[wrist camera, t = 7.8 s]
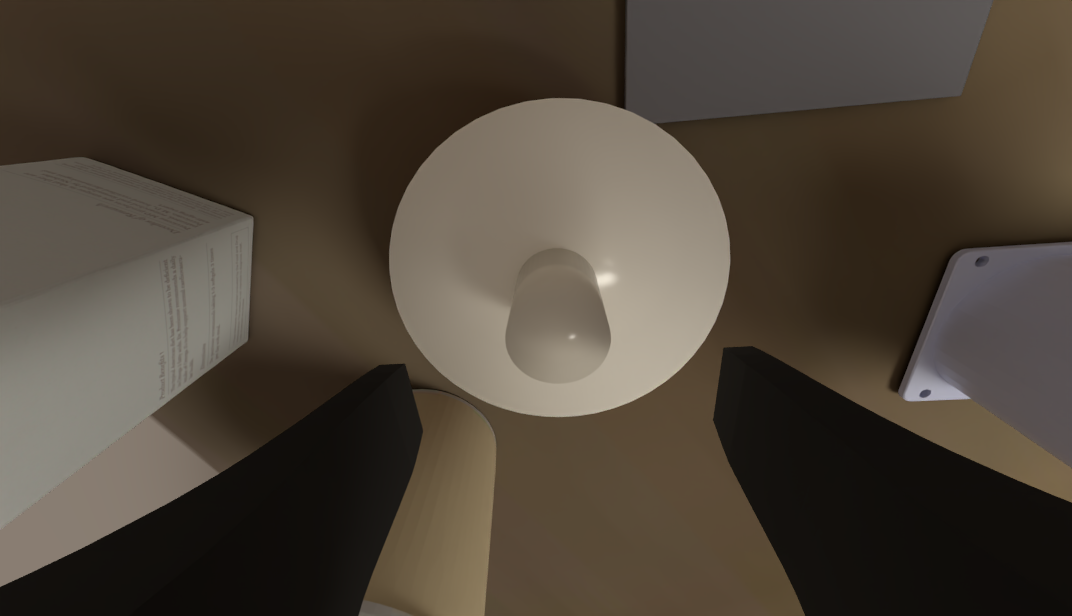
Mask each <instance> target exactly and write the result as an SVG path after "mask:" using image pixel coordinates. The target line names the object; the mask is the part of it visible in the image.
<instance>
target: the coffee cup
mask: <svg viewBox="0 0 1072 616" xmlns="http://www.w3.org/2000/svg"><path fill="white" fill-rule="evenodd" d="M412 391H413V395H414V398H415V402H416V406H417V409H418V413H419V417H420V420H421V424H422V428H423V435H422V439H421V443H420V447H419V452H418V455H417V459H416V463H415V466H414V470H413V473H412V476H411V478H410V481H409V484H408V486H407V489H406V491H405V494H404V496H403V499H402V501H401V504H400V507H399V509H398V512H397V514H396V516H395V519H394V521H393V524H392V526H391V529H390V531H389V534H388V536H387V539H386V541H385V544H384V546H383V549H382V551H381V554H380V556H379V559H378V561H377V564H376V566H375V569H374V571H373V574H372V577H371V579H370V582H369V585H368V588H367V591H366V593H365V596H364V599H363V602H362V606H361V609H360V612H359V616H484V610H485V598H486V586H487V573H488V561H489V548H490V535H491V522H492V508H493V495H494V481H495V467H496V440H495V435H494V432H493V430H492V428H491V426H490V424H489V422H488V421H487V419H486V418H485V416H484V415H483V414H482V413H481V412H480V411H479V410H478V409H476V408H475V407H474V406H473V405H471V404H470V403H468V402H466V401H465V400H463V399H461V398H459V397H457V396H455V395H452V394H449V393H446V392H443V391H438V390H430V389H413V390H412Z"/></svg>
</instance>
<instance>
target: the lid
mask: <svg viewBox="0 0 1072 616" xmlns="http://www.w3.org/2000/svg"><path fill="white" fill-rule="evenodd" d="M729 269H730V240H729V234H728V228H727V223H726V218H725V215H724V212H723V209H722V206H721V203H720V200H719V197H718V195H717V193H716V191H715V190H714V188H713V186H712V184H711V182H710V180H709V178H708V176H707V175H706V173H705V172H704V171H703V169H702V168H701V167H700V165H699V164H698V163H697V161H696V160H695V158H694V157H693V156H692V155H691V154H690V153H689V152H688V151H687V150H686V149H685V148H684V147H683V146H682V145H681V144H680V143H679V142H678V141H677V140H676V139H675V138H673V137H672V136H671V135H669V134H668V133H667V132H665V131H664V130H662V129H661V128H660V127H658V126H657V125H656V124H654V123H652V122H650V121H648V120H646V119H644V118H642V117H640V116H638V115H636V114H635V113H633V112H630V111H627V110H624V109H621V108H618V107H615V106H612V105H609V104H606V103H601V102H595V101H590V100H584V99H571V98H549V99H541V100H532V101H525V102H522V103H518V104H514V105H511V106H507V107H503V108H500V109H498V110H495V111H493V112H491V113H489V114H486V115H484V116H482V117H480V118H477V119H475V120H474V121H472V122H471V123H469V124H467V125H466V126H464V127H463V128H461V129H460V130H458V131H456V132H455V133H454V134H452V135H451V136H450V137H449V138H448V139H447V140H445V141H444V142H443V143H442V144H441V145H440V146H438V147H437V148H436V149H435V150H434V151H433V153H432V154H431V155H430V156H429V157H428V158H427V159H426V161H425V162H424V163H423V164H422V165H421V166H420V168H419V169H418V171H417V172H416V174H415V176H414V177H413V179H412V180H411V182H410V183H409V185H408V186H407V189H406V191H405V193H404V195H403V198H402V200H401V202H400V204H399V206H398V209H397V213H396V216H395V220H394V223H393V227H392V232H391V240H390V247H389V272H390V279H391V285H392V291H393V295H394V298H395V302H396V305H397V309H398V311H399V314H400V316H401V318H402V321H403V323H404V325H405V327H406V329H407V331H408V333H409V334H410V336H411V338H412V339H413V341H414V343H415V344H416V346H417V347H418V348H419V350H420V351H421V352H422V353H423V355H424V356H425V357H426V359H427V360H428V361H429V362H430V363H431V364H432V365H433V366H434V367H435V368H436V369H437V370H438V371H439V372H440V373H441V374H443V375H444V376H445V377H446V378H448V379H449V380H450V381H451V382H452V383H454V384H455V385H457V386H458V387H460V388H461V389H463V390H464V391H466V392H468V393H469V394H471V395H473V396H475V397H477V398H479V399H481V400H483V401H485V402H487V403H490V404H492V405H495V406H498V407H500V408H503V409H507V410H511V411H514V412H518V413H522V414H529V415H536V416H548V417H568V416H580V415H587V414H593V413H598V412H602V411H605V410H609V409H613V408H616V407H618V406H621V405H624V404H626V403H629V402H631V401H633V400H635V399H637V398H639V397H641V396H643V395H645V394H647V393H649V392H651V391H652V390H654V389H655V388H657V387H658V386H660V385H661V384H663V383H664V382H666V381H667V380H668V379H669V378H670V377H672V376H673V375H674V374H675V373H676V372H678V371H679V370H680V369H681V368H682V367H683V366H684V365H685V364H686V363H687V362H688V361H689V359H690V358H691V357H692V356H693V355H694V354H695V353H696V351H697V350H698V348H699V347H700V346H701V344H702V343H703V342H704V340H705V339H706V337H707V335H708V334H709V332H710V330H711V328H712V327H713V325H714V323H715V321H716V319H717V316H718V314H719V311H720V309H721V306H722V304H723V300H724V296H725V292H726V289H727V285H728V278H729Z"/></svg>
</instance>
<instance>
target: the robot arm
mask: <svg viewBox="0 0 1072 616" xmlns="http://www.w3.org/2000/svg"><path fill="white" fill-rule="evenodd" d="M978 258H980V259H979V260H978V261H977V262H976V260H977V259H978ZM975 262H976V263H975ZM898 394H899V396H901V397H902V398H903V399H904V400H906V401H930V400H954V399H972V400H973V401H975V402H976V403H978V404H979V405H981V406H982V407H984V408H985V409H987V410H988V411H989V412H991V413H992V414H994V415H995V416H997V417H998V418H1000V419H1001V420H1003V421H1004V422H1005V423H1007V424H1008V425H1010V426H1011V427H1013V428H1014V429H1016V430H1017V431H1019V432H1020V433H1021V434H1023V435H1024V436H1026V437H1027V438H1029V439H1030V440H1032V441H1033V442H1035V443H1036V444H1037V445H1039V446H1040V447H1042V448H1043V449H1045V450H1046V451H1048V452H1049V453H1051V454H1052V455H1053V456H1055V457H1056V458H1058V459H1059V460H1061V461H1062V462H1064V463H1065V464H1067V465H1068V466H1069V467H1071V468H1072V242H1059V243H1044V244H1029V245H1014V246H998V247H983V248H968V249H962V250H960V251H958V252H956V253H955V254H954V255H953V256H952V257H951V259H950V261H949V263H948V266H947V268H946V271H945V273H944V276H943V278H942V281H941V283H940V286H939V289H938V291H937V294H936V296H935V299H934V301H933V304H932V306H931V309H930V311H929V314H928V317H927V319H926V322H925V324H924V327H923V329H922V332H921V334H920V337H919V340H918V342H917V345H916V347H915V350H914V352H913V355H912V357H911V360H910V362H909V365H908V368H907V370H906V373H905V375H904V378H903V380H902V383H901V385H900V388H899V391H898ZM713 421H714V424H715V426H716V429H717V432H718V435H719V438H720V441H721V443H722V446H723V449H724V451H725V454H726V456H727V459H728V462H729V464H730V466H731V468H732V470H733V472H734V474H735V476H736V478H737V479H738V481H739V483H740V485H741V487H742V489H743V491H744V493H745V495H746V497H747V499H748V501H749V503H750V505H751V506H752V508H753V510H754V512H755V514H756V516H757V518H758V520H759V522H760V524H761V525H762V527H763V529H764V531H765V533H766V535H767V537H768V539H769V541H770V543H771V544H772V546H773V548H774V550H775V552H776V554H777V556H778V558H779V560H780V562H781V564H782V565H783V567H784V569H785V572H786V574H787V576H788V578H789V580H790V582H791V584H792V586H793V588H794V590H795V592H796V595H797V597H798V599H799V602H800V604H801V606H802V609H803V611H804V614H805V616H1072V503H1071V502H1069V501H1066V500H1064V499H1061V498H1058V497H1056V496H1054V495H1051V494H1049V493H1046V492H1044V491H1042V490H1039V489H1037V488H1034V487H1032V486H1029V485H1027V484H1025V483H1022V482H1020V481H1017V480H1015V479H1013V478H1011V477H1008V476H1006V475H1004V474H1002V473H999V472H997V471H995V470H993V469H990V468H988V467H986V466H984V465H981V464H979V463H977V462H975V461H972V460H970V459H968V458H966V457H963V456H961V455H959V454H957V453H954V452H952V451H950V450H948V449H946V448H944V447H942V446H939V445H937V444H935V443H933V442H931V441H929V440H927V439H925V438H923V437H921V436H919V435H917V434H915V433H913V432H911V431H909V430H907V429H905V428H903V427H901V426H899V425H897V424H895V423H893V422H891V421H889V420H887V419H885V418H883V417H881V416H879V415H877V414H876V413H874V412H872V411H870V410H868V409H866V408H864V407H862V406H860V405H859V404H857V403H855V402H853V401H851V400H849V399H848V398H846V397H844V396H842V395H840V394H839V393H837V392H835V391H833V390H831V389H830V388H828V387H826V386H824V385H822V384H821V383H819V382H817V381H815V380H814V379H812V378H810V377H808V376H807V375H805V374H803V373H801V372H800V371H798V370H796V369H794V368H793V367H791V366H789V365H787V364H785V363H784V362H782V361H780V360H778V359H776V358H775V357H773V356H771V355H769V354H767V353H765V352H763V351H761V350H759V349H757V348H755V347H753V346H748V347H729V348H724V349H723V356H722V363H721V370H720V377H719V383H718V390H717V397H716V404H715V411H714V418H713ZM422 435H423V428H422V424H421V420H420V417H419V413H418V409H417V406H416V402H415V398H414V395H413V391H412V387H411V384H410V380H409V376H408V373H407V369H406V366H405V364H389V365H379V366H377V367H376V368H374V369H372V370H371V371H369V372H368V373H366V374H365V375H363V376H362V377H360V378H359V379H357V380H356V381H355V382H353V383H352V384H350V385H349V386H348V387H346V388H345V389H343V390H342V391H341V392H339V393H338V394H337V395H335V396H334V397H332V398H331V399H330V400H328V401H327V402H326V403H324V404H323V405H321V406H320V407H319V408H317V409H316V410H314V411H313V412H312V413H310V414H309V415H307V416H306V417H305V418H303V419H302V420H300V421H299V422H298V423H296V424H295V425H293V426H292V427H290V428H289V429H287V430H286V431H284V432H283V433H281V434H280V435H278V436H277V437H275V438H274V439H272V440H271V441H269V442H268V443H266V444H265V445H263V446H262V447H260V448H259V449H257V450H256V451H254V452H253V453H252V454H250V455H249V456H247V457H245V458H244V459H242V460H241V461H239V462H237V463H236V464H234V465H233V466H231V467H229V468H228V469H226V470H225V471H223V472H221V473H220V474H218V475H216V476H215V477H213V478H211V479H210V480H208V481H206V482H205V483H203V484H201V485H199V486H198V487H196V488H194V489H192V490H191V491H189V492H187V493H186V494H184V495H182V496H180V497H179V498H177V499H175V500H173V501H171V502H170V503H168V504H166V505H165V506H162V507H160V508H159V509H157V510H155V511H153V512H151V513H149V514H147V515H145V516H143V517H141V518H139V519H138V520H136V521H134V522H132V523H130V524H128V525H126V526H125V527H122V528H120V529H118V530H116V531H114V532H113V533H111V534H109V535H107V536H105V537H103V538H101V539H99V540H97V541H95V542H94V543H92V544H90V545H88V546H86V547H84V548H82V549H80V550H78V551H76V552H73V553H71V554H69V555H67V556H65V557H63V558H61V559H59V560H57V561H55V562H53V563H51V564H48V565H46V566H44V567H42V568H40V569H38V570H36V571H34V572H32V573H30V574H28V575H25V576H23V577H21V578H19V579H17V580H14V581H12V582H10V583H8V584H6V585H4V586H1V587H0V616H359V612H360V609H361V606H362V602H363V599H364V596H365V593H366V591H367V588H368V585H369V582H370V579H371V577H372V574H373V571H374V569H375V566H376V564H377V561H378V559H379V556H380V554H381V551H382V549H383V546H384V544H385V541H386V539H387V536H388V534H389V531H390V529H391V526H392V524H393V521H394V519H395V516H396V514H397V512H398V509H399V507H400V504H401V501H402V499H403V496H404V494H405V491H406V489H407V486H408V484H409V481H410V478H411V476H412V473H413V470H414V466H415V463H416V459H417V455H418V452H419V447H420V443H421V439H422Z"/></svg>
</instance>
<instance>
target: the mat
mask: <svg viewBox="0 0 1072 616" xmlns="http://www.w3.org/2000/svg"><path fill="white" fill-rule="evenodd" d="M992 3H993V0H626V5H625V93H624V110H627V111H630V112H633V113H635V114H636V115H638V116H640V117H642V118H644V119H646V120H648V121H650V122H652V123H654V124H656V123H667V122H678V121H689V120H700V119H711V118H722V117H733V116H744V115H755V114H766V113H777V112H788V111H799V110H810V109H821V108H832V107H843V106H854V105H865V104H876V103H887V102H898V101H909V100H920V99H931V98H942V97H953V96H961V94H962V91H963V88H964V85H965V82H966V79H967V76H968V73H969V70H970V67H971V65H972V62H973V59H974V56H975V53H976V50H977V47H978V44H979V41H980V38H981V35H982V32H983V29H984V26H985V23H986V20H987V18H988V15H989V12H990V9H991V6H992Z"/></svg>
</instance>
